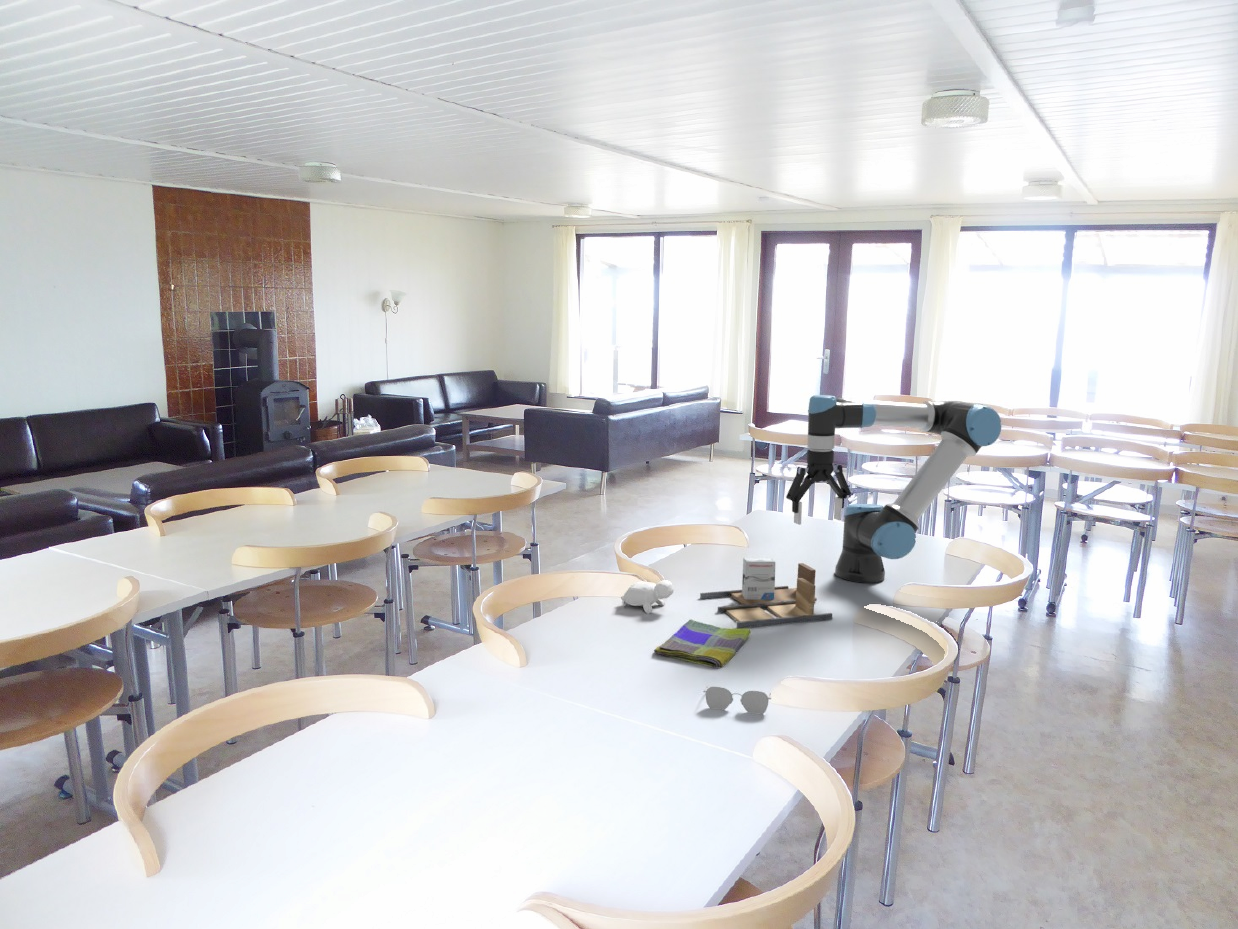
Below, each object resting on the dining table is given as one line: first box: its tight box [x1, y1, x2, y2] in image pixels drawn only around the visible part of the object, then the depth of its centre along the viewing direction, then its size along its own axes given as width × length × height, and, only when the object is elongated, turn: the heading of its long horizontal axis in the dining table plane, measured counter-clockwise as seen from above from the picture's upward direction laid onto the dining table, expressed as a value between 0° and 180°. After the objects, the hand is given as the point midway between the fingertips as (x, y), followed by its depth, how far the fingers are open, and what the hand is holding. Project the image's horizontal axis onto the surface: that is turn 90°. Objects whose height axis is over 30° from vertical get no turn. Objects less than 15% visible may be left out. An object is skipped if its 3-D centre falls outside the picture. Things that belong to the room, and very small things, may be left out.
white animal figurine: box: [620, 579, 675, 615], centre depth 233 cm, size 9×8×15 cm
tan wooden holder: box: [730, 562, 817, 605], centre depth 242 cm, size 22×10×9 cm, turn 108°
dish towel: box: [653, 618, 752, 669], centre depth 208 cm, size 18×24×3 cm
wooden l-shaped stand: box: [725, 578, 816, 623], centre depth 229 cm, size 22×10×9 cm, turn 108°
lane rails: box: [699, 585, 833, 629], centre depth 235 cm, size 28×25×2 cm
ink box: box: [741, 557, 776, 599], centre depth 241 cm, size 8×5×12 cm, turn 93°
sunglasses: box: [703, 685, 772, 715], centre depth 177 cm, size 14×8×5 cm, turn 78°
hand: (817, 521), depth 246 cm, fingers open, 13 cm apart
